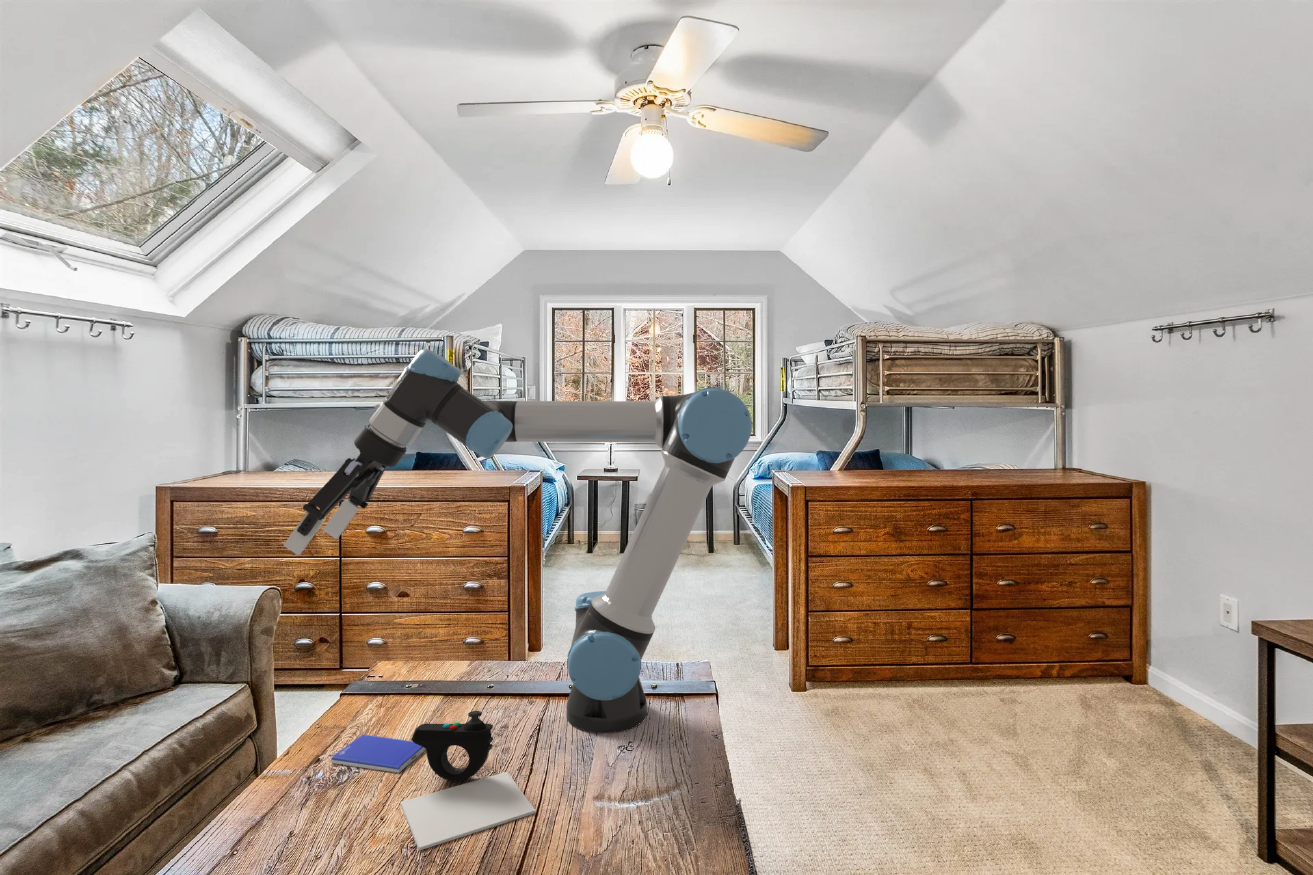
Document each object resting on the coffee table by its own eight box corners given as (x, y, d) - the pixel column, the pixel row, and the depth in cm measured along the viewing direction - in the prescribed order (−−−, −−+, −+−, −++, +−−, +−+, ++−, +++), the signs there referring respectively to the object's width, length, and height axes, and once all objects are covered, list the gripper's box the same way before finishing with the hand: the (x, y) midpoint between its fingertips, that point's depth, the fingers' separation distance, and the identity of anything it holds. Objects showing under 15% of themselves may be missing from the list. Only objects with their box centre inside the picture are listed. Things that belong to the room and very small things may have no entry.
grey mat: (507, 774, 107) (507, 771, 107) (535, 812, 97) (535, 810, 97) (400, 804, 99) (400, 801, 99) (418, 850, 88) (418, 847, 88)
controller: (486, 785, 102) (488, 716, 103) (406, 784, 103) (409, 715, 104) (495, 774, 107) (496, 708, 108) (418, 773, 107) (420, 707, 109)
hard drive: (330, 756, 110) (398, 766, 107) (363, 733, 118) (427, 741, 115) (331, 766, 110) (398, 776, 107) (363, 741, 118) (427, 750, 115)
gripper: (394, 421, 123) (326, 516, 123) (335, 423, 98) (250, 542, 98) (429, 445, 123) (361, 540, 123) (379, 453, 98) (294, 572, 99)
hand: (312, 541), depth 111 cm, fingers open, 13 cm apart
